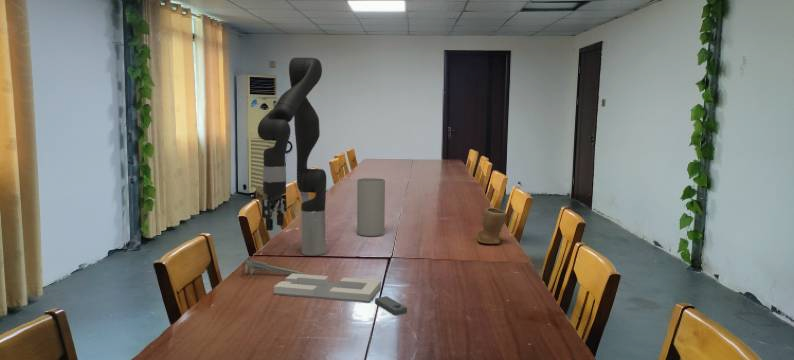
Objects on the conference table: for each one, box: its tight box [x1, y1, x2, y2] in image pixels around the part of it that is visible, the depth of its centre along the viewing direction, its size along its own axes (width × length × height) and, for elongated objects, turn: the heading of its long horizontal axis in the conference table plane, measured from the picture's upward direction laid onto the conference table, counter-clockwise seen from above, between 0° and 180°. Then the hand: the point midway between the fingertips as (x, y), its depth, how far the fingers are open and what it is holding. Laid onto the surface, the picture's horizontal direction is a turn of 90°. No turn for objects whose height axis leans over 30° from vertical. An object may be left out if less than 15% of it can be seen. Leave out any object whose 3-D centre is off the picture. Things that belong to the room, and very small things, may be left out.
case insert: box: [273, 273, 382, 304], centre depth 170 cm, size 14×30×2 cm, turn 78°
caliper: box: [244, 256, 303, 276], centre depth 186 cm, size 21×1×6 cm, turn 86°
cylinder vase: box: [356, 177, 386, 238], centre depth 249 cm, size 12×12×25 cm
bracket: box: [374, 295, 408, 316], centre depth 156 cm, size 4×11×2 cm, turn 32°
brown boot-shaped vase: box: [475, 207, 507, 245], centre depth 238 cm, size 15×12×15 cm
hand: (274, 227), depth 184 cm, fingers open, 8 cm apart
